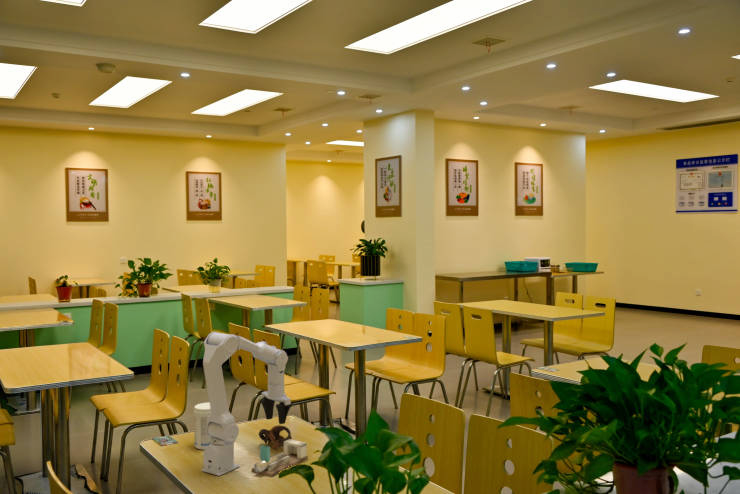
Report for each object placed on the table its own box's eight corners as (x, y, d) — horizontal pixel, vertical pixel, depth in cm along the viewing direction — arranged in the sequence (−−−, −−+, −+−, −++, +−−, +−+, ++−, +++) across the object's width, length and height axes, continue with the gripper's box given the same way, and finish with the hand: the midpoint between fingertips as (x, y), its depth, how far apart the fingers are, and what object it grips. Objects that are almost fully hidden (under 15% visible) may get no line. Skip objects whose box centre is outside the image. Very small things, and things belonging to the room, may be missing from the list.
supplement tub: (227, 444, 231) (227, 403, 231) (210, 452, 222) (210, 410, 222) (205, 440, 235) (205, 400, 235) (188, 448, 226) (188, 407, 226)
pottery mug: (290, 442, 235) (295, 426, 231) (285, 461, 227) (290, 445, 223) (259, 433, 235) (263, 417, 231) (252, 453, 226) (256, 436, 223)
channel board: (271, 477, 200) (271, 467, 200) (251, 471, 204) (251, 462, 204) (307, 459, 216) (307, 450, 216) (288, 454, 220) (288, 446, 220)
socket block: (300, 458, 213) (300, 445, 213) (283, 454, 217) (283, 441, 217) (306, 456, 216) (306, 442, 216) (289, 452, 220) (289, 439, 220)
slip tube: (261, 473, 200) (261, 450, 200) (254, 471, 201) (254, 448, 201) (285, 462, 210) (285, 439, 210) (278, 460, 212) (278, 438, 212)
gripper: (297, 384, 223) (297, 423, 223) (273, 377, 233) (272, 414, 233) (281, 387, 218) (281, 427, 218) (256, 380, 228) (256, 418, 228)
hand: (275, 421), depth 225 cm, fingers open, 7 cm apart
